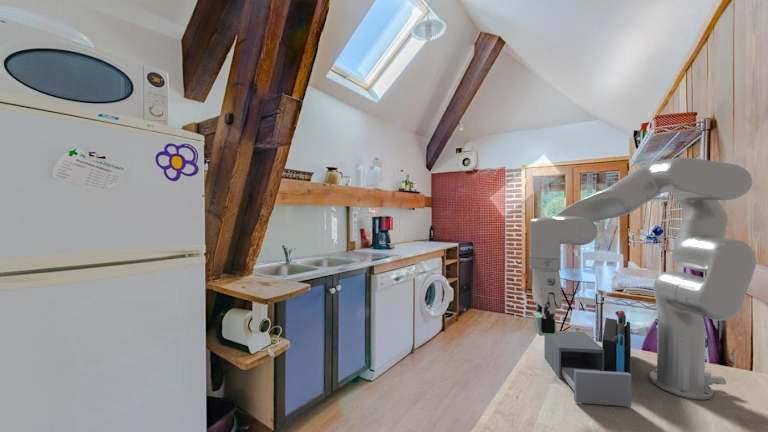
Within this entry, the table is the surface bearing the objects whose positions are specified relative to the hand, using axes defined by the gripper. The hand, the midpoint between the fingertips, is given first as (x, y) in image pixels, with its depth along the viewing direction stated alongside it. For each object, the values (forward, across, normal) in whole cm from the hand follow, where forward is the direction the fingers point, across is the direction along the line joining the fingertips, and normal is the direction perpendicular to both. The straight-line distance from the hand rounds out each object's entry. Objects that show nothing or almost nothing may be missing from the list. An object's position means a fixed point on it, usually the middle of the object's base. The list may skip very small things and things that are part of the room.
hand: (545, 328), depth 85 cm
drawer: (+17, +1, -12) cm, 20 cm away
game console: (+18, +15, -25) cm, 34 cm away
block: (+1, 0, 0) cm, 1 cm away
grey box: (+17, +12, -11) cm, 24 cm away
